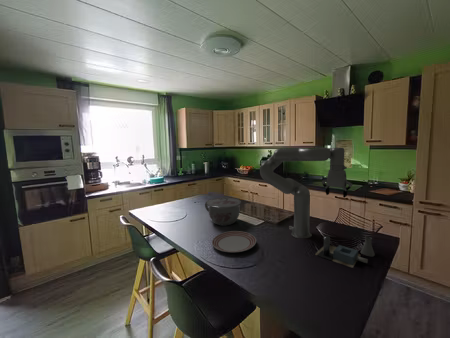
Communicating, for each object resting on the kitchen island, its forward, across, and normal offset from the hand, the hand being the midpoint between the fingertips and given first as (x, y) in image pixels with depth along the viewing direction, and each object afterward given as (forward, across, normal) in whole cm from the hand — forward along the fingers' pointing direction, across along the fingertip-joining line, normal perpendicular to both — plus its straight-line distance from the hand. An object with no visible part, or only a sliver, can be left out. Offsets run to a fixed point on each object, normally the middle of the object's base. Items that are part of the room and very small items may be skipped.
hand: (336, 195), depth 128 cm
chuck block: (+27, -15, +21) cm, 37 cm away
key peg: (+27, -4, +25) cm, 37 cm away
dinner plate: (+29, +43, +47) cm, 70 cm away
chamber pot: (+28, +74, +26) cm, 83 cm away
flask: (+29, -19, +8) cm, 35 cm away
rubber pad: (+27, -4, +25) cm, 37 cm away
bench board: (+28, -8, +20) cm, 35 cm away
